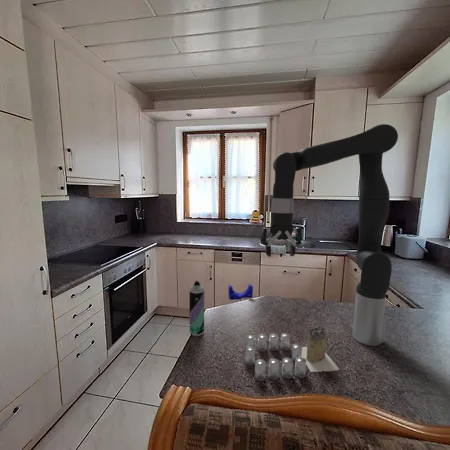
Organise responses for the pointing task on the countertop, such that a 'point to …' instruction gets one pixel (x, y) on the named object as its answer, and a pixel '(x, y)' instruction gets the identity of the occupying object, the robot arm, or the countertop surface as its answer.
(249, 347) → the spacers
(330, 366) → the tile
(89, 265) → the countertop surface
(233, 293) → the cable clip
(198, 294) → the spray can
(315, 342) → the cream metal oval canister
